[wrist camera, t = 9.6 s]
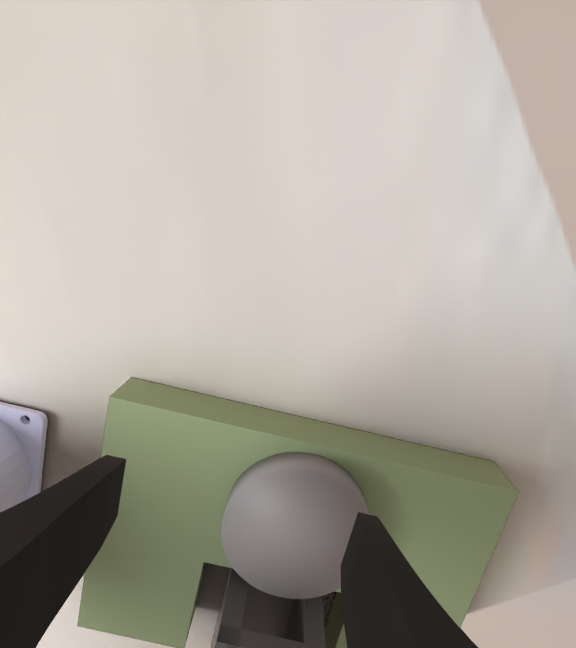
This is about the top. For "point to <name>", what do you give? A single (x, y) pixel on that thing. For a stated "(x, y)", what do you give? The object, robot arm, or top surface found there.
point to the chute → (267, 619)
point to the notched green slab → (274, 510)
